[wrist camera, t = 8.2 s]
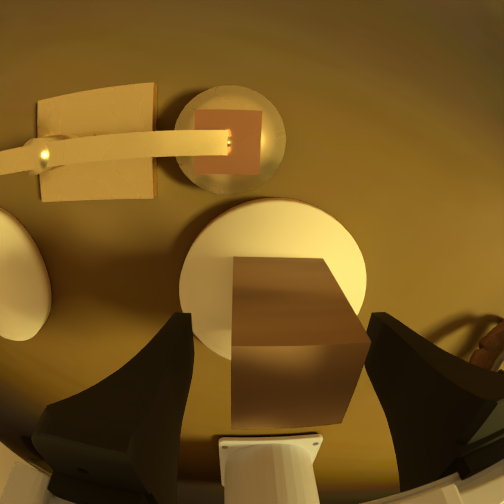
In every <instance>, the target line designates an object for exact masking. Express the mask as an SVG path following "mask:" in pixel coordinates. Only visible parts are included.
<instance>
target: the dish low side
mask: <svg viewBox="0 0 504 504" xmlns="http://www.w3.org/2000/svg"><path fill="white" fill-rule="evenodd" d="M233 256H236V257H282V258H323V259H324V261H325V262H326V264H327V266H328V267H329V269H330V271H331V272H332V274H333V276H334V277H335V279H336V281H337V282H338V284H339V286H340V288H341V289H342V291H343V293H344V294H345V296H346V298H347V300H348V301H349V303H350V305H351V306H352V308H353V310H354V312H355V313H356V315H358V313H359V311H360V308H361V306H362V303H363V300H364V296H365V290H366V270H365V264H364V260H363V257H362V254H361V252H360V250H359V247H358V245H357V244H356V242H355V241H354V239H353V238H352V236H351V235H350V234H349V233H348V231H347V230H346V229H345V228H344V227H343V226H342V225H341V224H340V223H339V222H338V221H337V220H336V219H335V218H333V217H332V216H331V215H330V214H328V213H327V212H325V211H324V210H322V209H320V208H319V207H317V206H314V205H312V204H309V203H307V202H304V201H300V200H296V199H290V198H282V197H273V198H262V199H255V200H251V201H248V202H244V203H241V204H239V205H236V206H234V207H232V208H230V209H228V210H226V211H225V212H223V213H221V214H220V215H218V216H217V217H216V218H214V219H213V220H212V221H211V222H210V223H208V224H207V225H206V226H205V228H204V229H203V230H202V231H201V232H200V233H199V234H198V236H197V237H196V239H195V240H194V242H193V243H192V245H191V247H190V249H189V251H188V254H187V256H186V259H185V262H184V265H183V268H182V271H181V276H180V282H179V297H180V304H181V308H182V311H183V313H191V316H192V330H193V333H194V334H195V335H196V336H197V337H198V338H199V340H200V341H201V342H202V343H203V344H205V345H206V346H207V347H208V348H209V349H211V350H212V351H214V352H215V353H217V354H219V355H220V356H222V357H224V358H226V359H229V360H231V331H232V288H233Z"/></svg>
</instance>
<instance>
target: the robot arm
mask: <svg viewBox="0 0 504 504" xmlns="http://www.w3.org/2000/svg"><path fill="white" fill-rule="evenodd" d="M366 333H367V335H368V337H369V338H370V340H371V344H370V348H369V351H368V354H367V357H366V360H365V363H364V365H365V368H366V371H367V374H368V376H369V378H370V381H371V383H372V385H373V387H374V390H375V392H376V394H377V396H378V399H379V401H380V403H381V405H382V408H383V410H384V413H385V415H386V418H387V421H388V425H389V428H390V432H391V436H392V440H393V444H394V449H395V453H396V459H397V465H398V471H399V480H400V491H401V493H399V494H396V495H392V496H389V497H385V498H381V499H377V500H373V501H369V502H365V503H361V504H504V374H502V373H498V372H494V371H491V370H488V369H485V368H482V367H479V366H476V365H474V364H471V363H469V362H466V361H464V360H462V359H460V358H458V357H456V356H454V355H452V354H450V353H448V352H446V351H444V350H442V349H441V348H439V347H437V346H436V345H434V344H432V343H431V342H429V341H428V340H426V339H425V338H423V337H422V336H420V335H419V334H417V333H416V332H414V331H413V330H411V329H410V328H408V327H407V326H406V325H404V324H403V323H401V322H400V321H398V320H397V319H395V318H394V317H392V316H391V315H389V314H387V313H385V312H376V313H372V314H371V318H370V321H369V325H368V328H367V332H366ZM193 364H194V343H193V330H192V316H191V313H179V312H176V313H174V314H173V315H172V317H171V318H170V319H169V320H168V321H167V323H166V324H165V325H164V326H163V327H162V329H161V330H160V331H159V332H158V333H157V334H156V335H155V336H154V338H153V339H152V340H151V341H150V342H149V343H148V344H147V345H146V346H145V347H144V348H143V349H142V350H141V351H140V352H139V353H138V354H137V355H136V356H135V357H133V358H132V359H131V360H130V361H129V362H128V363H126V364H125V365H124V366H123V367H121V368H120V369H119V370H117V371H116V372H115V373H113V374H112V375H110V376H108V377H107V378H105V379H104V380H102V381H101V382H99V383H97V384H96V385H94V386H92V387H90V388H88V389H86V390H84V391H82V392H80V393H78V394H76V395H74V396H71V397H69V398H66V399H64V400H61V401H58V402H56V403H53V404H50V405H47V407H46V408H45V410H44V412H43V414H42V415H41V417H40V420H39V422H38V424H37V426H36V428H35V430H34V432H33V435H32V437H31V440H32V443H33V446H34V447H35V449H36V450H37V452H38V453H39V454H40V455H41V457H42V458H43V459H44V460H45V461H46V462H47V464H48V465H49V466H50V467H51V468H52V469H53V473H52V476H51V478H50V477H49V476H47V475H46V474H44V473H42V472H40V471H38V470H35V469H33V468H30V467H28V466H25V465H23V464H21V463H19V462H15V464H14V466H13V468H12V471H11V473H10V475H9V478H8V481H7V483H6V485H5V488H4V491H3V493H2V496H1V499H0V504H177V475H178V458H179V445H180V433H181V426H182V420H183V415H184V411H185V406H186V402H187V397H188V393H189V388H190V384H191V379H192V374H193ZM322 440H323V437H322V435H321V434H311V435H299V436H283V437H248V438H240V437H223V438H220V439H219V457H220V469H221V481H222V485H223V486H225V504H320V503H319V497H318V492H317V487H316V482H315V477H314V471H313V466H312V464H313V462H314V459H315V457H316V455H317V452H318V450H319V448H320V445H321V443H322Z"/></svg>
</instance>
